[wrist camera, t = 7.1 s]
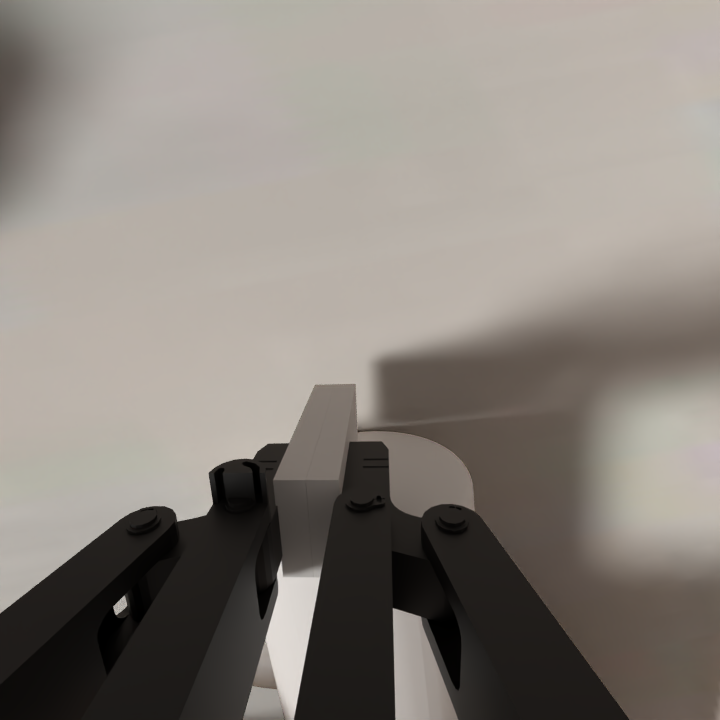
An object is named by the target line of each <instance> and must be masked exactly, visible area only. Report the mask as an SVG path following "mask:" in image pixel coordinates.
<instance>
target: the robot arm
mask: <svg viewBox="0 0 720 720" xmlns="http://www.w3.org/2000/svg"><path fill="white" fill-rule="evenodd" d="M209 479H210V485H211V492H212V499H213V505H212V507H211V509H210V510H209V512H208V513H207V515H205V516H202V517H198V518H193V519H189V520H184V521H179V522H177V518H176V514H175V512H174V511H173V510H172V509H170V508H167V507H165V506H153V507H148V508H147V507H146V508H142V509H140V510H138V511H135V512H132V513H130V514H129V515H127V516H125V517H124V518H122V519H121V520H119V521H118V522H117V523H115V524H114V525H113V526H112V527H110V528H109V529H108V530H106V531H105V532H104V533H103V534H101V535H100V536H99V537H98V538H96V539H95V540H94V541H92V542H91V543H90V544H89V545H87V546H86V547H85V548H83V549H82V550H81V551H80V552H78V553H77V554H76V555H75V556H73V557H72V558H71V559H69V560H68V561H67V562H66V563H64V564H63V565H62V566H60V567H59V568H58V569H57V570H55V571H54V572H53V573H52V574H50V575H49V576H48V577H46V578H45V579H44V580H43V581H41V582H40V583H39V584H37V585H36V586H35V587H34V588H32V589H31V590H30V591H28V592H27V593H26V594H25V595H23V596H22V597H21V598H20V599H18V600H17V601H16V602H14V603H13V604H12V605H11V606H9V607H8V608H7V609H5V610H4V611H3V612H2V613H0V720H243V716H244V713H245V709H246V706H247V702H248V699H249V695H250V692H251V688H252V685H253V681H254V678H255V674H256V670H257V667H258V663H259V660H260V656H261V653H262V649H263V646H264V642H265V639H266V635H267V632H268V628H269V625H270V621H271V617H272V614H273V610H274V607H275V603H276V600H277V596H278V579H277V573H278V569H279V566H280V563H281V562H282V571H283V577H320V581H319V586H318V592H317V597H316V602H315V608H314V613H313V619H312V624H311V629H310V635H309V640H308V646H307V651H306V656H305V662H304V667H303V673H302V678H301V683H300V689H299V694H298V700H297V705H296V710H295V716H294V720H395V678H394V635H393V608H394V609H397V610H401V611H404V612H407V613H410V614H414V615H417V616H420V617H421V620H422V626H423V628H424V631H425V634H426V636H427V639H428V641H429V644H430V647H431V649H432V652H433V655H434V657H435V660H436V662H437V665H438V668H439V670H440V673H441V676H442V678H443V681H444V683H445V686H446V689H447V691H448V694H449V697H450V699H451V702H452V704H453V707H454V710H455V712H456V715H457V718H458V720H629V719H628V717H627V716H626V714H625V713H624V712H623V710H622V709H621V708H620V706H619V705H618V704H617V702H616V701H615V700H614V698H613V697H612V695H611V694H610V693H609V691H608V690H607V689H606V687H605V686H604V685H603V683H602V682H601V680H600V679H599V678H598V676H597V675H596V674H595V672H594V671H593V670H592V668H591V667H590V665H589V664H588V663H587V661H586V660H585V659H584V657H583V656H582V655H581V653H580V652H579V650H578V649H577V648H576V646H575V645H574V644H573V642H572V641H571V640H570V638H569V637H568V636H567V634H566V633H565V631H564V630H563V629H562V627H561V626H560V625H559V623H558V622H557V621H556V619H555V618H554V616H553V615H552V614H551V612H550V611H549V610H548V608H547V607H546V606H545V604H544V603H543V601H542V600H541V599H540V597H539V596H538V595H537V593H536V592H535V591H534V589H533V588H532V587H531V585H530V584H529V582H528V581H527V580H526V578H525V577H524V576H523V574H522V573H521V572H520V570H519V569H518V567H517V566H516V565H515V563H514V562H513V561H512V559H511V558H510V557H509V555H508V554H507V552H506V551H505V550H504V548H503V547H502V546H501V544H500V543H499V542H498V540H497V539H496V537H495V536H494V535H493V533H492V532H491V531H490V529H489V528H488V527H487V525H486V524H485V523H484V521H483V520H482V518H481V517H480V516H479V515H478V514H476V513H475V512H474V511H473V510H471V509H468V508H466V507H464V506H460V505H455V504H440V505H437V506H433V507H431V508H429V509H428V510H427V511H425V512H424V514H423V516H422V517H417V516H413V515H410V514H407V513H405V512H403V511H401V510H399V509H398V508H397V507H395V506H394V504H393V503H392V501H391V498H390V479H389V449H388V448H387V447H386V446H385V444H384V443H383V442H382V441H360V442H358V433H357V409H356V385H355V384H333V385H315V386H314V388H313V391H312V393H311V395H310V397H309V400H308V402H307V404H306V406H305V409H304V411H303V413H302V415H301V418H300V420H299V422H298V425H297V427H296V429H295V431H294V434H293V436H292V438H291V440H290V443H286V444H267V445H266V446H265V447H263V448H262V449H261V450H259V451H258V452H257V454H256V455H255V457H254V459H238V460H232V461H229V462H225V463H223V464H221V465H219V466H217V467H215V468H214V469H213V470H212V471H211V472H209ZM124 595H125V597H126V601H127V607H126V608H125V609H124V610H123V611H122V612H120V613H119V614H118V615H115V613H114V609H113V606H114V605H115V604H116V603H117V602H118V601H119V600H120V599H121V598H122V597H123V596H124Z"/></svg>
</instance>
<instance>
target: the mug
mask: <svg viewBox="0 0 720 720" xmlns="http://www.w3.org/2000/svg"><path fill="white" fill-rule="evenodd" d="M357 433H358V442H360V441H382V442H383V443H384V444H385V446H386V447H387V448H388V449H389V479H390V498H391V501H392V503H393V504H394V506H395V507H397V508H398V509H399V510H401V511H403V512H405V513H407V514H410V515H413V516H417V517H422V516H423V514H424V512H425V511H427V510H428V509H429V508H431V507H433V506H437V505H440V504H455V505H460V506H464V507H466V508H468V509H471V510H473V511H474V512H475V507H474V491H473V482H472V478H471V476H470V473H469V471H468V469H467V468H466V466H465V464H464V463H463V462H462V461H461V460H460V459H459V458H458V457H457V456H456V455H455V454H454V453H453V452H452V451H450V450H449V449H447V448H446V447H444V446H442V445H440V444H438V443H436V442H434V441H432V440H429V439H426V438H423V437H419V436H416V435H411V434H406V433H399V432H388V431H368V432H357ZM277 579H278V596H277V600H276V603H275V607H274V610H273V614H272V617H271V621H270V625H269V628H268V632H267V635H266V643H267V644H264V646H263V649H262V653H261V656H260V660H259V663H258V667H257V670H256V674H255V678H254V681H253V685H252V686H256V687H263V688H271V689H278V693H279V697H280V701H281V706H282V710H283V714H284V718H285V720H294V716H295V710H296V705H297V700H298V694H299V689H300V683H301V678H302V673H303V667H304V662H305V656H306V651H307V646H308V640H309V635H310V629H311V624H312V619H313V613H314V608H315V602H316V597H317V592H318V586H319V581H320V577H283V571H282V562H281V563H280V566H279V569H278V573H277ZM393 635H394V678H395V720H458V718H457V715H456V712H455V710H454V707H453V704H452V702H451V699H450V697H449V694H448V691H447V689H446V686H445V683H444V681H443V678H442V676H441V673H440V670H439V668H438V665H437V662H436V660H435V657H434V655H433V652H432V649H431V647H430V644H429V641H428V639H427V636H426V634H425V631H424V628H423V626H422V620H421V617H420V616H417V615H414V614H410V613H407V612H404V611H401V610H397V609H394V608H393Z"/></svg>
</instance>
